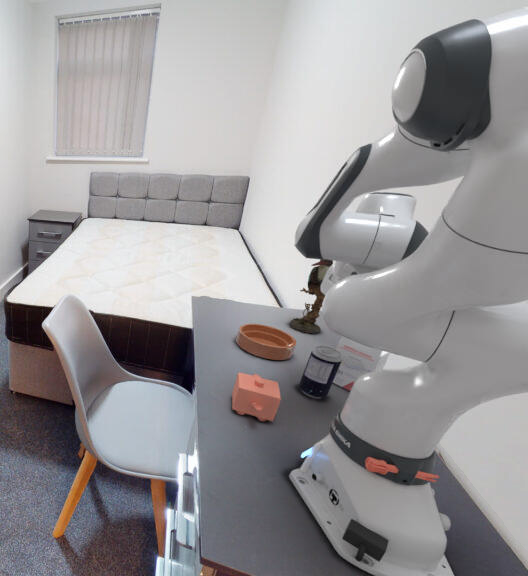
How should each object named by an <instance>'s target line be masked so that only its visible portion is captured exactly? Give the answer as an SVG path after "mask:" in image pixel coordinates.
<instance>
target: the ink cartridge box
mask: <svg viewBox="0 0 528 576" xmlns="http://www.w3.org/2000/svg"><path fill="white" fill-rule="evenodd" d="M335 350H337V351H338V352H340V353H341V355H342V356H341V359H342V362H341V364H340V367H339V369H338V371H337V374H336V376H335V378H334V381H333V383H332V384H335V385H337V386H339V387H341V388H343V389H345V390H347V391H349V392H350V391H351V389H352V387H353V384H354V382H355V381H356V380H357V379H358V378H359V377H360V376H362V375H363V374H366V373H368V372H371V371H375V370H380V369H385V368H384V367H385V366H386V364H387V361H388V359H389V356H390V354H391V353H389V352H385V351H382V350H378V349H375V348H371V347H368V346H364V345H362V344H360V343H357V342H355V341H353V340H350V339H348V338H346V337H344V336H341V338H340V339H339V340H338V343H337V345H336V348H335Z"/></svg>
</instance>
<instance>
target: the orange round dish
mask: <svg viewBox="0 0 528 576" xmlns="http://www.w3.org/2000/svg"><path fill="white" fill-rule="evenodd" d="M235 342H236V344H237V345H238V347H240V348H241V349H242V350H244V351H246V352H247V353H249V354H251V355H254V356H256V357H259V358H262V359H266V360H267V359H268V360H274V361H284V360H289V359H290V358H292V357H293V354H294V351H295V348H296V345H297V340H296V338H295V337H294V336H293V335H291V334H290V333H288V332H286V331H284V330H282V329H279V328H276V327H274V326H270V325H266V324H260V323H244V324H242V325H240V326H239V328H238V332H237V335H236V339H235Z"/></svg>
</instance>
